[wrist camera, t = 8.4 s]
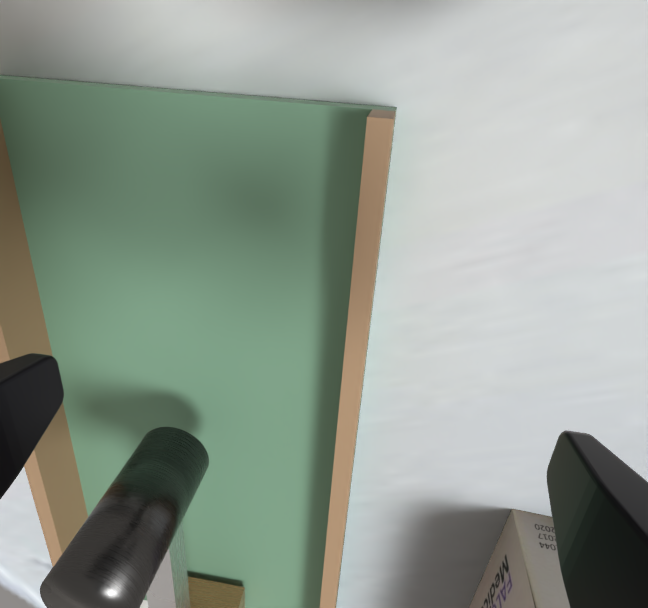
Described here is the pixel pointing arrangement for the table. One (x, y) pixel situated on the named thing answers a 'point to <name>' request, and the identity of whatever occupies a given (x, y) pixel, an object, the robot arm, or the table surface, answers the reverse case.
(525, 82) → the table surface
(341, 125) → the pitch
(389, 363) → the table surface
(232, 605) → the rod
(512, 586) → the surgical sutures box
